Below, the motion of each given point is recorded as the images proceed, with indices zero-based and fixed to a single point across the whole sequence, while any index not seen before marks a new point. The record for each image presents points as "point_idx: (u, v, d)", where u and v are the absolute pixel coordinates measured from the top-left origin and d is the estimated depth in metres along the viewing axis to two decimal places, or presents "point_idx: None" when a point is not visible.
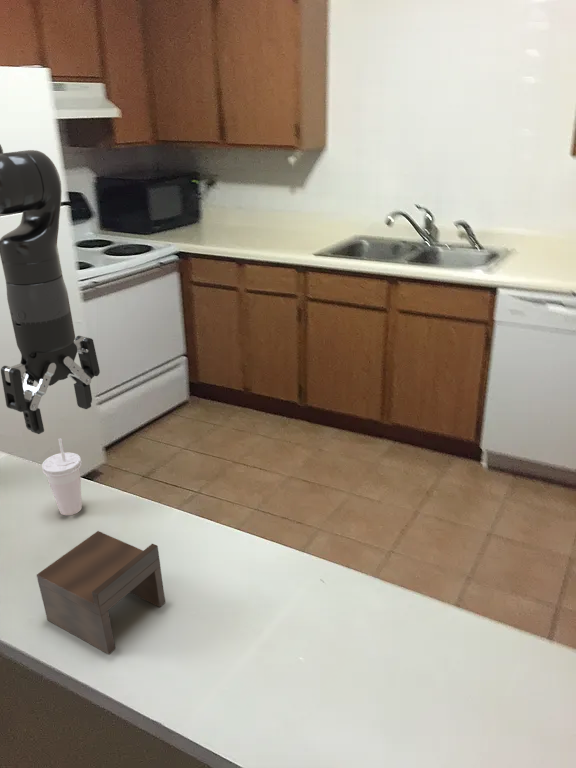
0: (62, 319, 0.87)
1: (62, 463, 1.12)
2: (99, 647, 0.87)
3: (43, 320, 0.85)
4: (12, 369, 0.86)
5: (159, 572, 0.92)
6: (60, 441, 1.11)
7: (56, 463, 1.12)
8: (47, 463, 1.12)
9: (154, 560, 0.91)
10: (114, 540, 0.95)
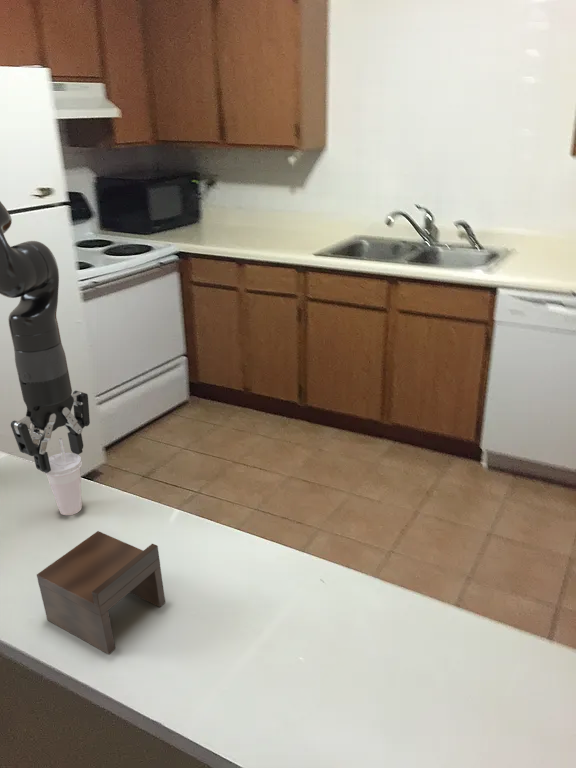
0: (61, 378, 1.04)
1: (62, 463, 1.12)
2: (99, 647, 0.87)
3: (45, 380, 1.03)
4: (20, 424, 1.03)
5: (159, 572, 0.92)
6: (61, 441, 1.11)
7: (56, 463, 1.12)
8: None
9: (154, 560, 0.91)
10: (114, 540, 0.95)
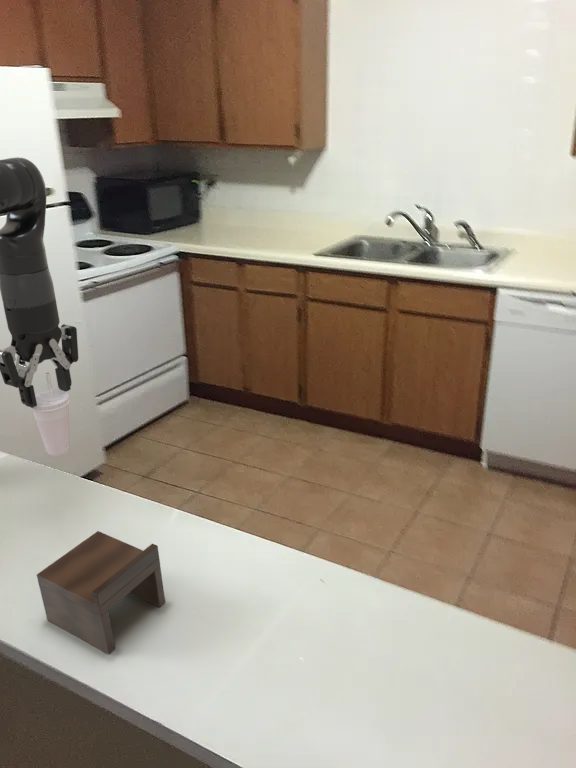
0: (47, 306, 0.99)
1: (49, 399, 1.07)
2: (99, 647, 0.87)
3: (31, 306, 0.98)
4: (4, 353, 0.98)
5: (159, 572, 0.92)
6: (48, 375, 1.06)
7: (43, 399, 1.07)
8: None
9: (154, 560, 0.91)
10: (114, 540, 0.95)
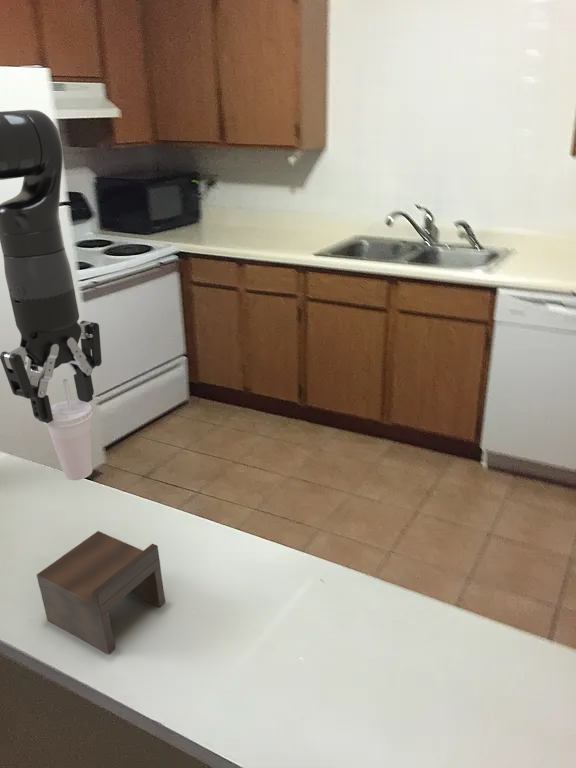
0: (65, 296, 0.80)
1: (68, 411, 0.87)
2: (99, 647, 0.87)
3: (44, 296, 0.78)
4: (12, 355, 0.79)
5: (159, 572, 0.92)
6: (65, 382, 0.86)
7: (60, 412, 0.88)
8: None
9: (154, 560, 0.91)
10: (114, 540, 0.95)
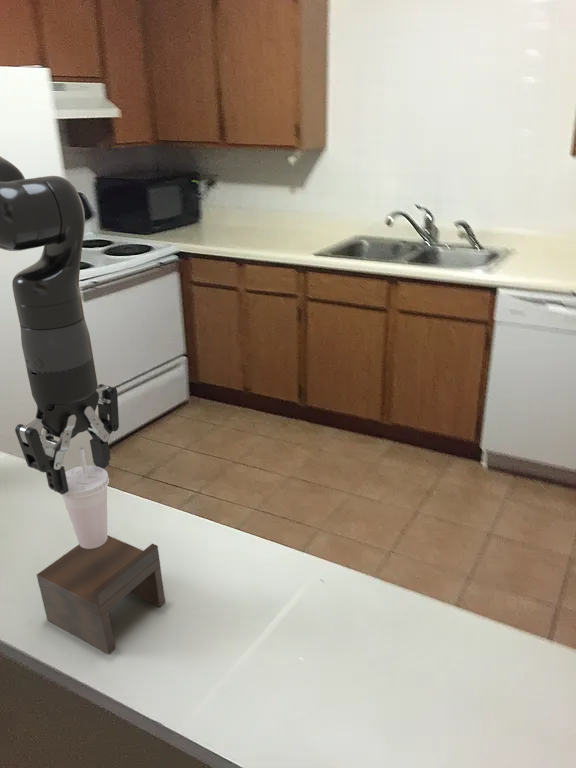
0: (84, 367, 0.76)
1: (84, 480, 0.84)
2: (99, 647, 0.87)
3: (63, 369, 0.75)
4: (28, 430, 0.75)
5: (159, 572, 0.92)
6: (82, 451, 0.83)
7: (76, 480, 0.84)
8: None
9: (154, 560, 0.91)
10: (114, 540, 0.95)
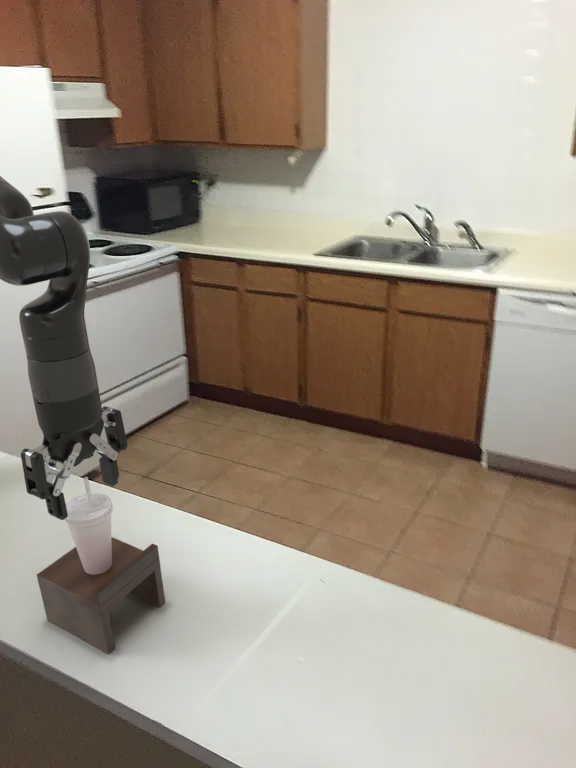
0: (89, 397, 0.78)
1: (88, 509, 0.86)
2: (99, 647, 0.87)
3: (69, 399, 0.76)
4: (34, 454, 0.77)
5: (159, 572, 0.92)
6: (86, 480, 0.85)
7: (80, 509, 0.86)
8: (69, 508, 0.86)
9: (154, 560, 0.91)
10: (114, 540, 0.95)
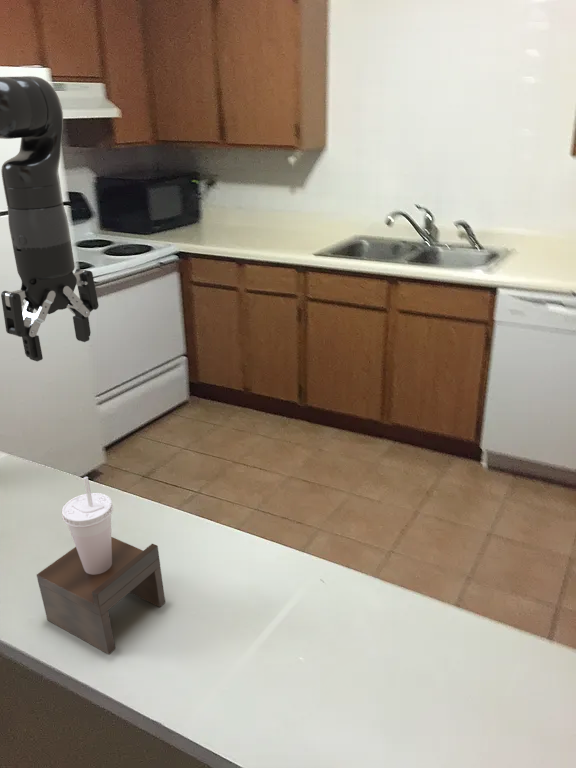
0: (62, 247, 0.89)
1: (88, 509, 0.86)
2: (99, 647, 0.87)
3: (43, 246, 0.87)
4: (12, 293, 0.88)
5: (159, 572, 0.92)
6: (86, 480, 0.85)
7: (80, 509, 0.86)
8: (69, 508, 0.86)
9: (154, 560, 0.91)
10: (114, 540, 0.95)
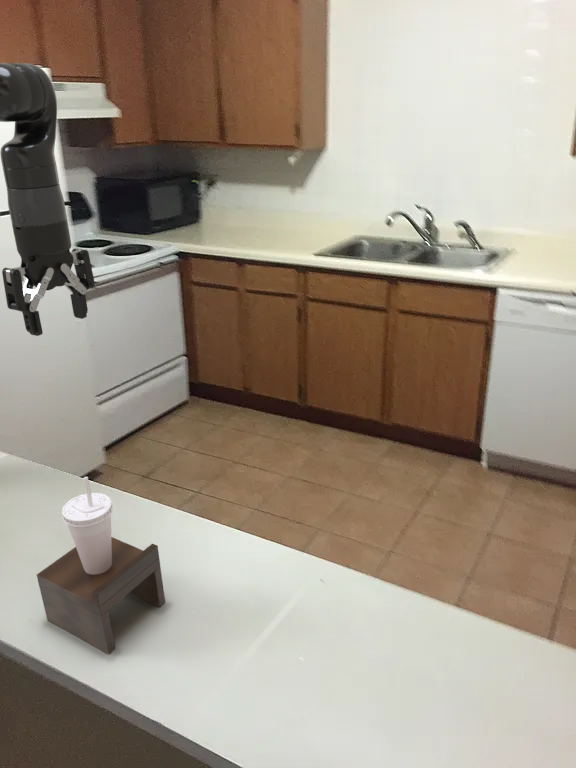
0: (59, 225, 0.94)
1: (88, 509, 0.86)
2: (99, 647, 0.87)
3: (41, 224, 0.92)
4: (13, 269, 0.92)
5: (159, 572, 0.92)
6: (86, 480, 0.85)
7: (80, 509, 0.86)
8: (69, 508, 0.86)
9: (154, 560, 0.91)
10: (114, 540, 0.95)
